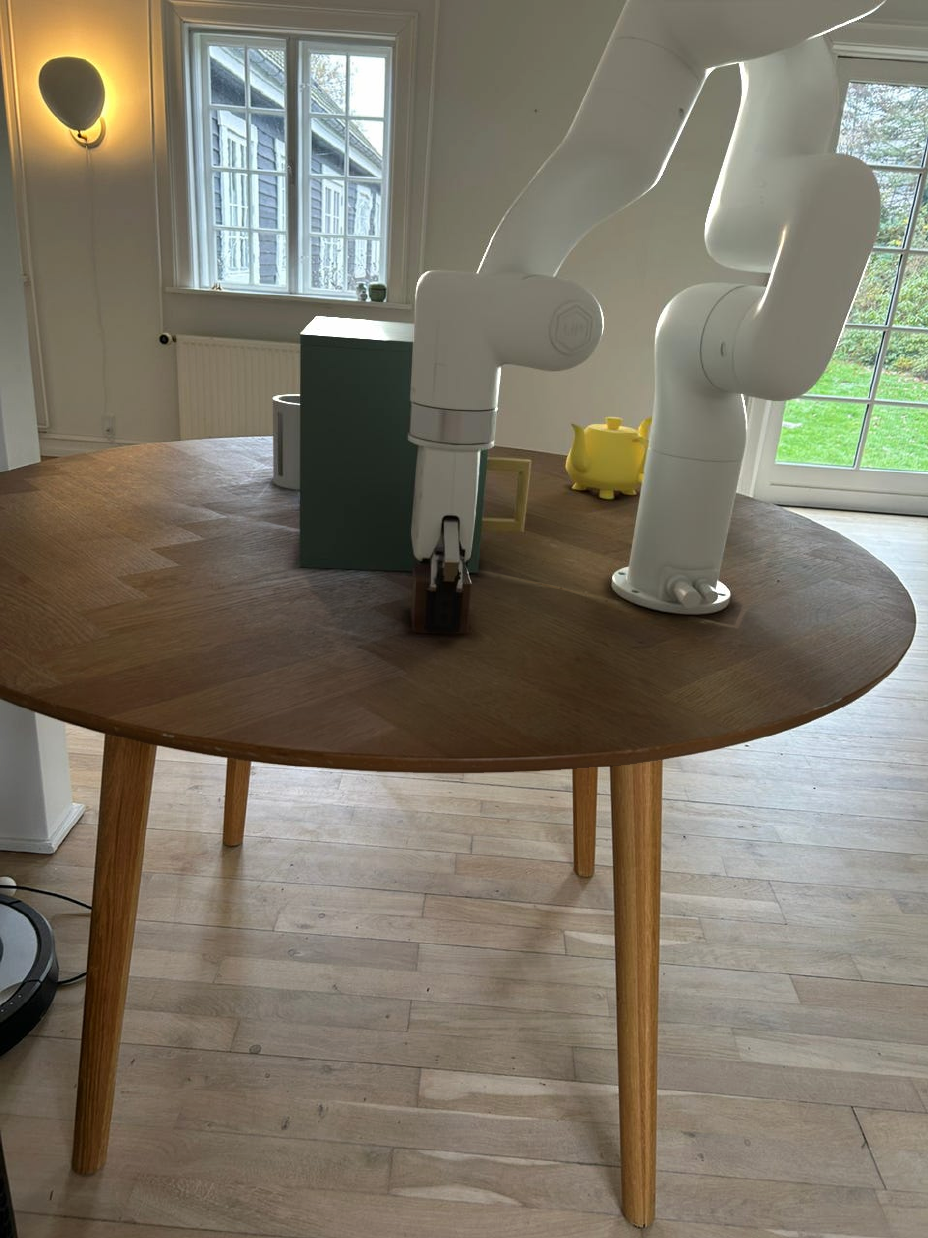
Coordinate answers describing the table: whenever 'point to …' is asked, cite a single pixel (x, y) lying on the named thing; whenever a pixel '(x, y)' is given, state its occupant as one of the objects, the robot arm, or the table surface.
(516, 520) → the door
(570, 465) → the teapot
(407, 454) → the cupboard
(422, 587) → the block
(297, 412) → the cup
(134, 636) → the table surface
